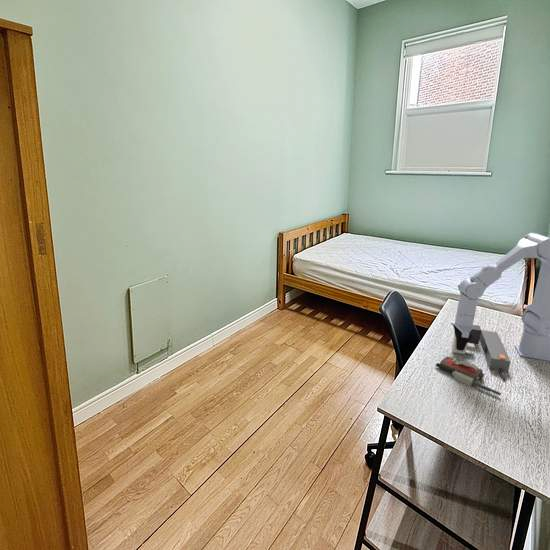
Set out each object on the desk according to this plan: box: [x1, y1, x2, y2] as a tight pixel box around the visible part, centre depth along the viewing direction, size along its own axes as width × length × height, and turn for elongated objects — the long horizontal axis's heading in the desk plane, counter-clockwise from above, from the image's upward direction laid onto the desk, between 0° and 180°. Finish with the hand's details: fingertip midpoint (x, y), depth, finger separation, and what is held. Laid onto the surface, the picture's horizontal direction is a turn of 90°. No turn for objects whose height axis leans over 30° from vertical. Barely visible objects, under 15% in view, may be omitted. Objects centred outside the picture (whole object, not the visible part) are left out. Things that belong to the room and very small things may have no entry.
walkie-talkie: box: [435, 355, 501, 396], centre depth 114 cm, size 9×4×20 cm
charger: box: [451, 332, 476, 355], centre depth 129 cm, size 7×4×6 cm, turn 69°
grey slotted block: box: [468, 324, 511, 381], centre depth 126 cm, size 10×28×6 cm, turn 159°
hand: (459, 346), depth 130 cm, fingers closed on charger, 4 cm apart
